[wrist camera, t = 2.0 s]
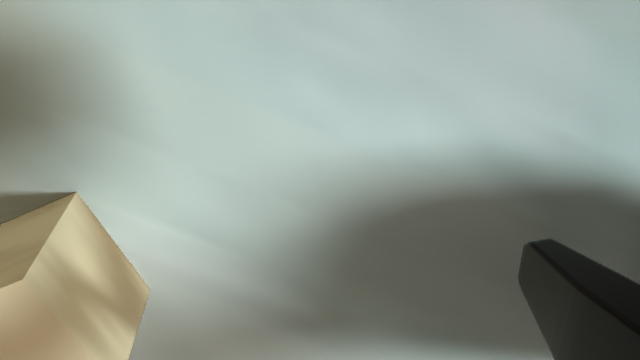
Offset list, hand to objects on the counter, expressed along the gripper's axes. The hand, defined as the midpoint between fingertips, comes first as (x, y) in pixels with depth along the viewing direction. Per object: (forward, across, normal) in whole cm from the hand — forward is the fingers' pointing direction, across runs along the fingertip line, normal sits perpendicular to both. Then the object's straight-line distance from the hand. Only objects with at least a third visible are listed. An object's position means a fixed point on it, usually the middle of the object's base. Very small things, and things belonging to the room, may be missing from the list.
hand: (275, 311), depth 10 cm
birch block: (+12, +7, +8) cm, 16 cm away
